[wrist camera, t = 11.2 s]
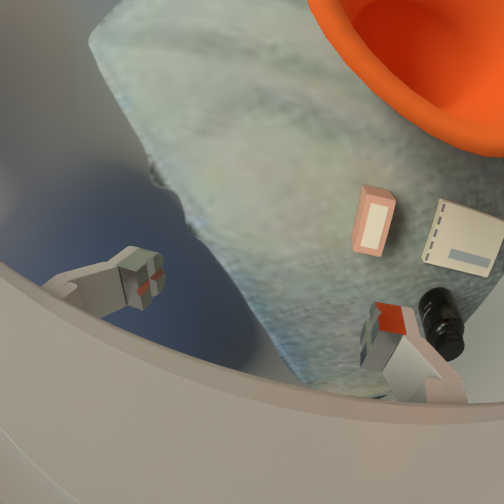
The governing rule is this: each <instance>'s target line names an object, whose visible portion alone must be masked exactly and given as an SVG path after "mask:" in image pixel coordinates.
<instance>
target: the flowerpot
mask: <svg viewBox="0 0 504 504" xmlns="http://www.w3.org/2000/svg"><path fill="white" fill-rule="evenodd" d="M307 1H308V4H309V7H310V10H311V12H312V13H313V15H314V17H315V19H316V20H317V22H318V24H319V26H320V27H321V29H322V31H323V33H324V35H325V37H326V38H327V39H328V41H329V42H330V43H331V44H332V46H333V47H334V48H335V49H336V51H337V52H338V53H339V55H340V56H341V57H342V59H343V60H344V61H345V63H346V64H347V65H348V66H349V67H350V68H351V69H352V70H353V71H354V72H355V73H356V74H357V75H358V76H359V77H360V78H361V80H362V81H363V82H364V83H365V84H366V85H367V86H368V87H369V88H370V89H371V90H372V91H373V92H374V93H375V94H376V95H378V96H379V97H380V98H381V99H383V100H384V101H385V102H386V103H387V104H389V105H390V106H391V107H392V108H393V109H394V110H395V111H397V112H398V113H399V114H400V115H401V116H403V117H404V118H406V119H407V120H409V121H410V122H412V123H414V124H415V125H417V126H418V127H419V128H421V129H422V130H424V131H425V132H427V133H428V134H430V135H431V136H434V137H436V138H438V139H440V140H442V141H444V142H446V143H448V144H450V145H452V146H454V147H456V148H458V149H461V150H464V151H468V152H471V153H475V154H478V155H481V156H485V157H500V158H504V0H307Z"/></svg>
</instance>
